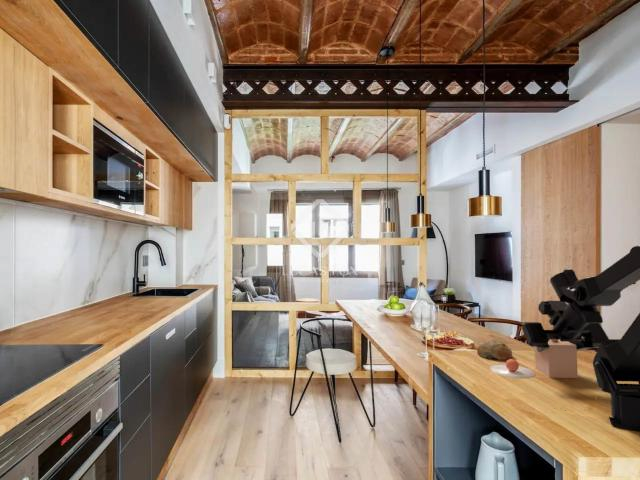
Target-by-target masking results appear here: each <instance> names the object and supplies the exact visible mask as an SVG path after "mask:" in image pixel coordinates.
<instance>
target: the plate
mask: <svg viewBox="0 0 640 480" xmlns="http://www.w3.org/2000/svg"><path fill="white" fill-rule="evenodd" d="M490 370H491V372H492V373H495V374H496V375H499V376H502V377H507V378H513V379H531V378H534V377H535V376H536V375H537V374H536V371H534V370H532V369H530V368H528V367H524V366H520V365H519V368H518V370H516V371H510V370H509V369H507V367H506V364H496V365H495V364H494V365H492V366H490Z"/></svg>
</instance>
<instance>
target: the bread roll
mask: <svg viewBox="0 0 640 480" xmlns="http://www.w3.org/2000/svg"><path fill="white" fill-rule="evenodd" d="M477 356H479V357H481V358H483V359H487V360H488V359H489V360H492V361H493V360H494V361H501V362H504V361H505V362H506V361H507V360H509V359H513V351H512V349H511V348H510V346H508V345H507V344H506V343H505V342H504V341H501V340H500V339H495V338H493V339H489V340H486V341H483V342H481V343H479V345H478V347H477Z"/></svg>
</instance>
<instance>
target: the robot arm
mask: <svg viewBox="0 0 640 480" xmlns="http://www.w3.org/2000/svg"><path fill="white" fill-rule="evenodd" d="M638 281H640V244H639V245H634V246H633V247H631V248H630V250H629V252H628V253H627V254H626V255H623V256H622V257H621V258H619V259H618V260H616V262H614V263H613V264H612V265H610V266H608V267H607V268H605V269H604V270H603V271H602V272H600V273H599V274H596V275H593V276H588V277H587V276H586V277H584V278H581V279H579V278H578V277H577V275H576V273H575V271H574V270H573V269H564V270H563V271H562V272H559V273H556V274H555V275H553V276H551V277H550V279H549V282H550V284H551V286H552V288H553V290H554V292H555V294H556V296H557V298H558V299H559V300H545V301H543V300H541V302H539V304H538V308H537V309H538V311H539V313H541V315H542V316H543V315H544V316H548V318H550V319H549V320H548V323H549V324H550V326H552V329H544V327H543V325H542V323H541V322H539V321H525V322H523V325H522V326H521V330H522V332H523V335H524V337H525V339H526V342H527V345H528V346H530V347H534V348H535V347H537V351H538V352H541V351H543V350H545V349H547V348H549V345H548V342H549V340H560V341H567V342H570V343H572V344H575V345H576V347H577V351H582V350H587V349H594V348H596V349H595V350H594V351H595V354H594V357H593V361H592V366H593V370H594V374H595V379H596V381H597V386H598V388H600V389H601V392H603V393H607V394H610V408H611V416H608V419H609V421H610V425H611V426H613V427H617V428H623V429H628V430H633V431H637V432H640V312H639V313H638V314H637V316H636V317H635V319H634V320H633V321H632V323H631V324H630V325H629V327H628V328H627V330H626V331H625V332H624V334H623V335H622V336H621V338H620V339H618V338H617V339H615V338H614V339H613V338H611V339H610V338H609V336H608V334H607V333H606V331H605V330H604V328H603V327H602V325H601V324H602V323H603V322H604V321H603V317H602V315H601V312H600V310H599V308H598V307H611V306H613V305H614V304H615V303H616V302H617V301H618V300H619V299H620V298H621V297H622V294H621V292H623V290H625V289H626V288H628V287H630V286H632V285H633V284H635V283H637V282H638ZM618 382H632V383H618ZM633 382H634V383H633ZM636 382H637V383H636Z"/></svg>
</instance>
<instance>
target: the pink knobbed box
mask: <svg viewBox="0 0 640 480" xmlns="http://www.w3.org/2000/svg"><path fill="white" fill-rule="evenodd" d="M548 345H549V348H547V349H545V350H543V351H541V352H538V351H537V347H534V361H535V362H534V363H535V364H534V365H535V366H534V367H535V370H537V371H538V372H540V373H542V374H543V375H544V376H546V377H547V378H549V379H550V378H553V379H554V378H556V379H557V378H559V379H561V378H562V379H578V378H579V376H578V375H579V373H578V372H579V371H578V356H577V353H578V350H577V347H576V345H575V344H572V343H570V342H567V341H560V340H549V342H548Z"/></svg>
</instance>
